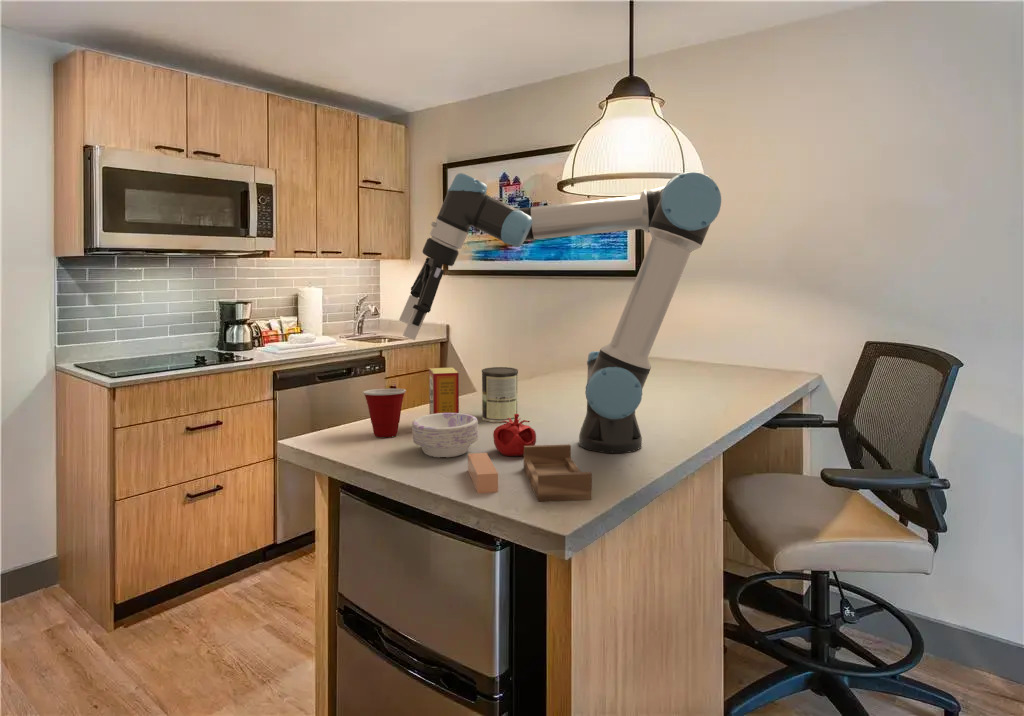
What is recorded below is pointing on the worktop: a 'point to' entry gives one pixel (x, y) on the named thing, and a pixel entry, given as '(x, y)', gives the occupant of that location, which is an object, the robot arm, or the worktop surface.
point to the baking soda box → (443, 390)
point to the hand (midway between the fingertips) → (406, 329)
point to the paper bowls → (445, 433)
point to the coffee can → (499, 394)
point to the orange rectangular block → (482, 473)
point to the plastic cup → (385, 410)
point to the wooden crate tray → (555, 474)
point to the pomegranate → (513, 437)
